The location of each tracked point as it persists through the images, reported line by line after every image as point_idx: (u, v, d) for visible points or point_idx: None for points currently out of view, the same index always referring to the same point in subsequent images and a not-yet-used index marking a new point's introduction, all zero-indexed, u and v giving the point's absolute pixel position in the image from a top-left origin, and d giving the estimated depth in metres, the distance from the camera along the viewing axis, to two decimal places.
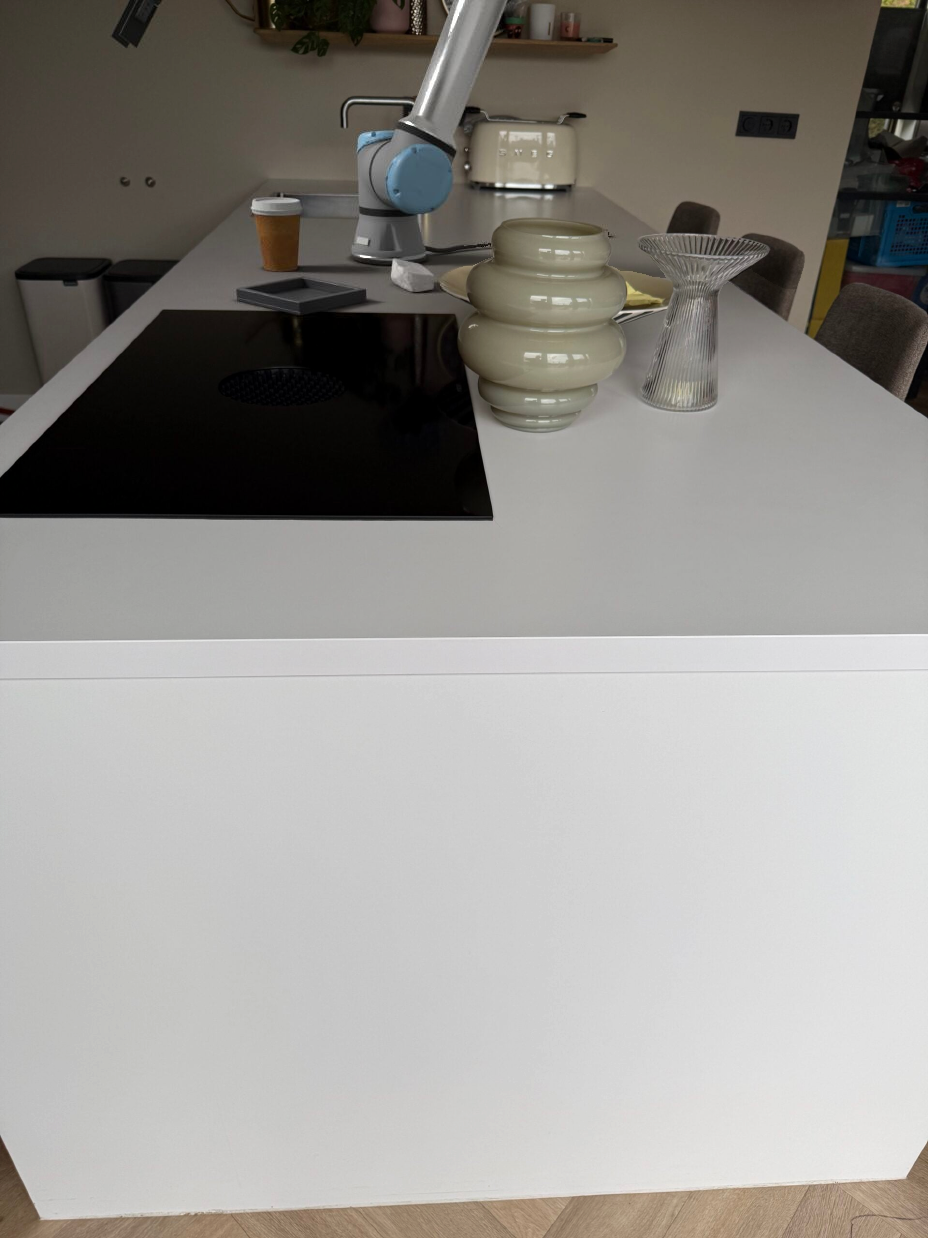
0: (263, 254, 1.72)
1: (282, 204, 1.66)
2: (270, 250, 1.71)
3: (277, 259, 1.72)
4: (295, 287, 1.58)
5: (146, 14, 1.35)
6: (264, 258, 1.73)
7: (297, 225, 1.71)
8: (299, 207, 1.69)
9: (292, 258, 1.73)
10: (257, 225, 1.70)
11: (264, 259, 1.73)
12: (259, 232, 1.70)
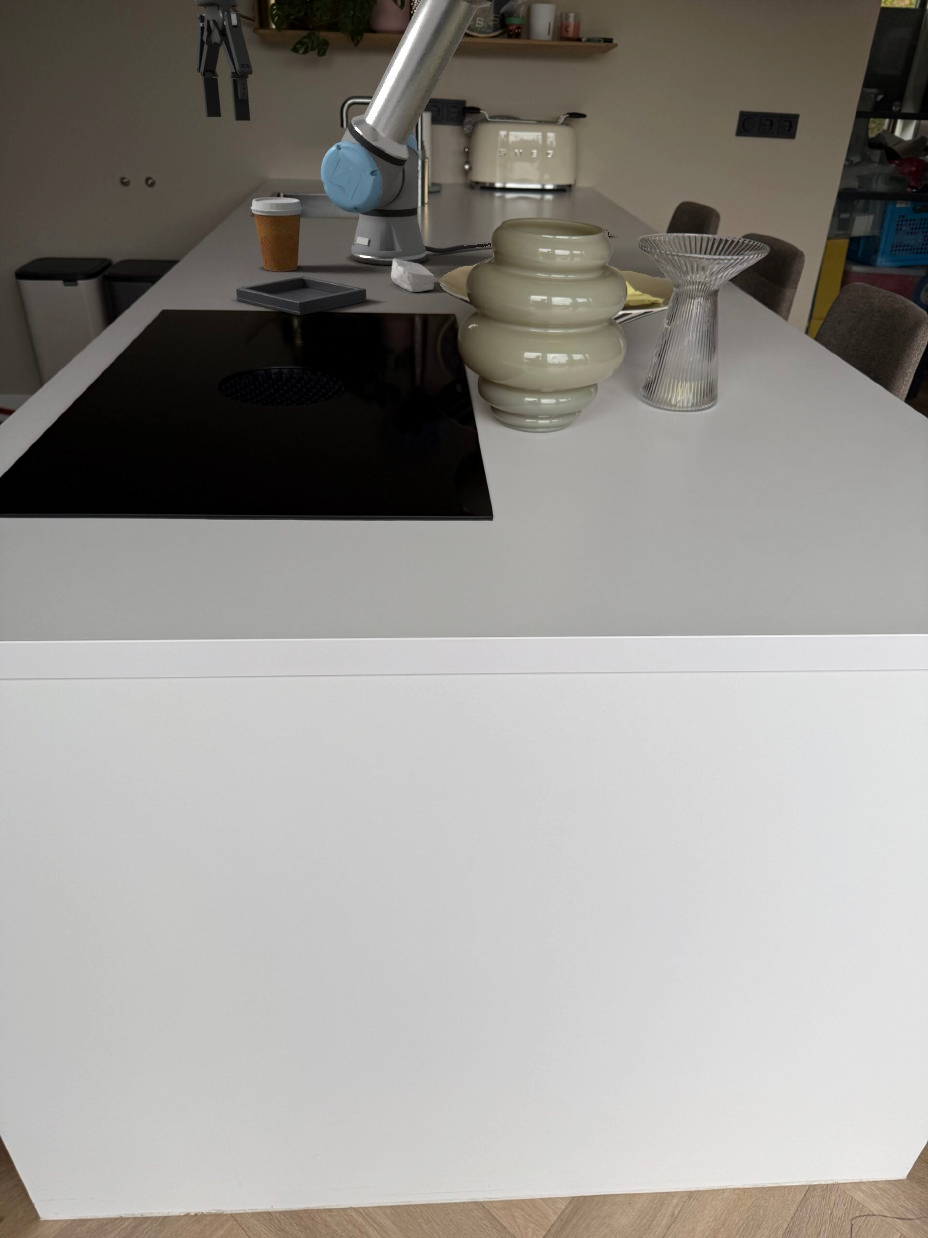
0: (263, 254, 1.72)
1: (282, 204, 1.66)
2: (270, 250, 1.71)
3: (277, 259, 1.72)
4: (295, 287, 1.58)
5: (245, 91, 1.62)
6: (264, 258, 1.73)
7: (297, 225, 1.71)
8: (299, 207, 1.69)
9: (292, 258, 1.73)
10: (257, 225, 1.70)
11: (264, 259, 1.73)
12: (259, 232, 1.70)
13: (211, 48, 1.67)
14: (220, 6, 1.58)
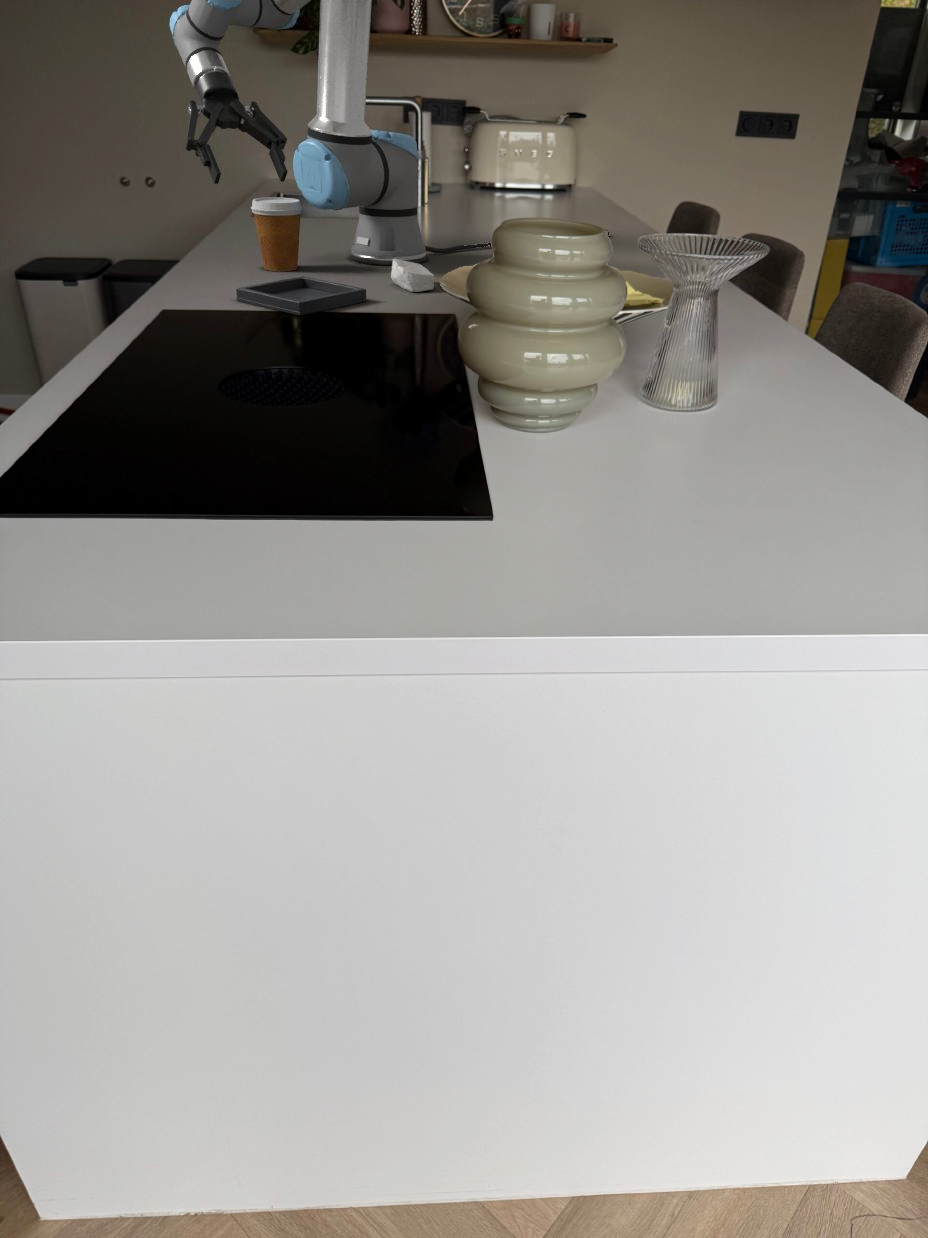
0: (263, 254, 1.72)
1: (282, 204, 1.66)
2: (270, 250, 1.71)
3: (277, 259, 1.72)
4: (295, 287, 1.58)
5: (201, 156, 1.71)
6: (264, 258, 1.73)
7: (297, 225, 1.71)
8: (299, 207, 1.69)
9: (292, 258, 1.73)
10: (257, 225, 1.70)
11: (264, 259, 1.73)
12: (259, 232, 1.70)
13: (248, 130, 1.79)
14: (201, 105, 1.77)
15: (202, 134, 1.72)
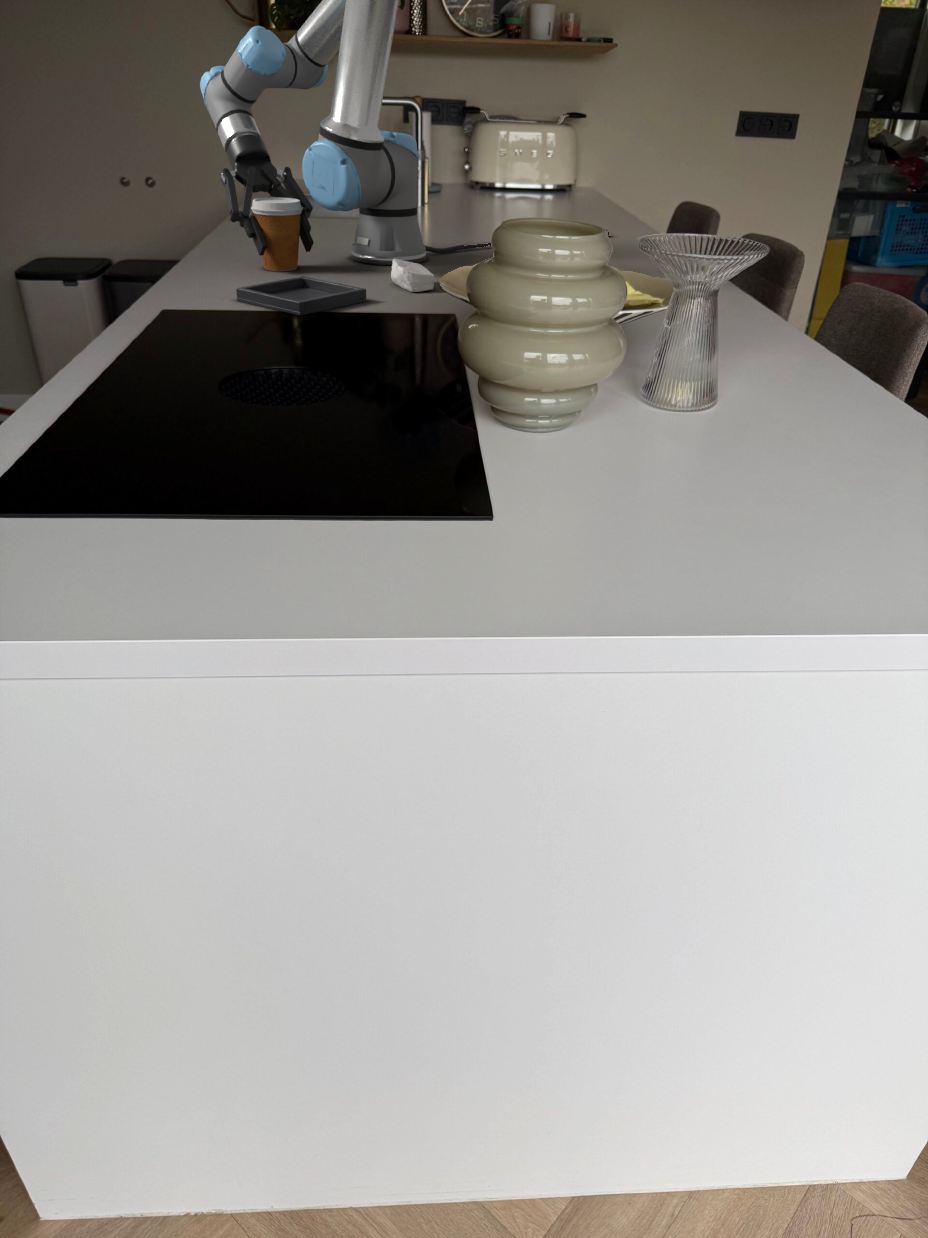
0: None
1: (282, 204, 1.66)
2: (270, 250, 1.71)
3: (276, 259, 1.72)
4: (295, 287, 1.58)
5: (247, 228, 1.68)
6: (264, 258, 1.73)
7: (297, 225, 1.71)
8: (299, 207, 1.69)
9: (292, 258, 1.73)
10: None
11: (264, 259, 1.73)
12: None
13: (276, 195, 1.75)
14: (233, 168, 1.73)
15: (245, 205, 1.69)
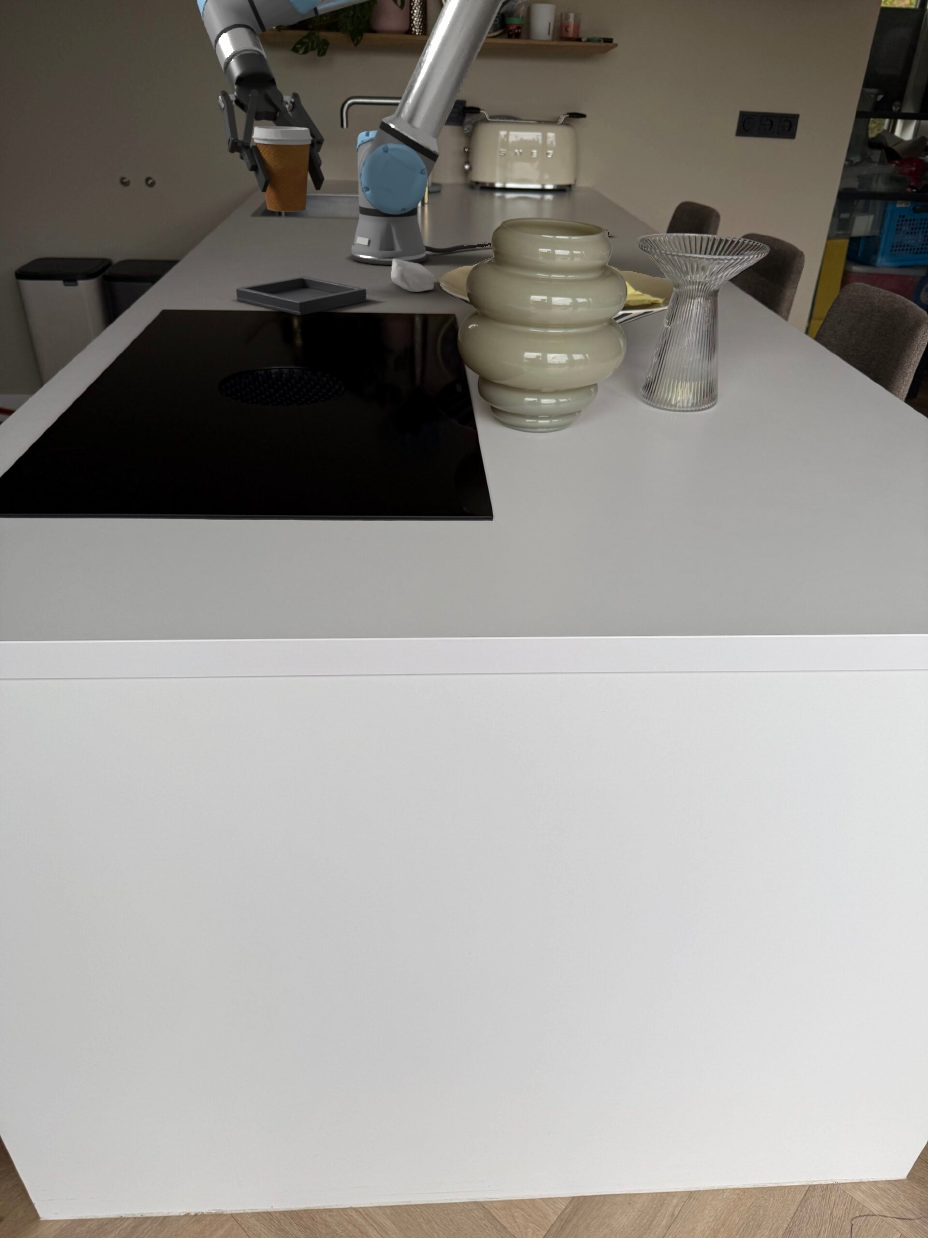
0: (266, 191, 1.49)
1: (288, 131, 1.43)
2: (274, 186, 1.48)
3: (281, 197, 1.49)
4: (295, 287, 1.58)
5: (247, 160, 1.45)
6: (267, 196, 1.50)
7: (306, 157, 1.47)
8: (308, 136, 1.46)
9: (300, 197, 1.50)
10: None
11: (267, 197, 1.50)
12: None
13: (282, 124, 1.51)
14: (232, 92, 1.50)
15: (245, 133, 1.46)
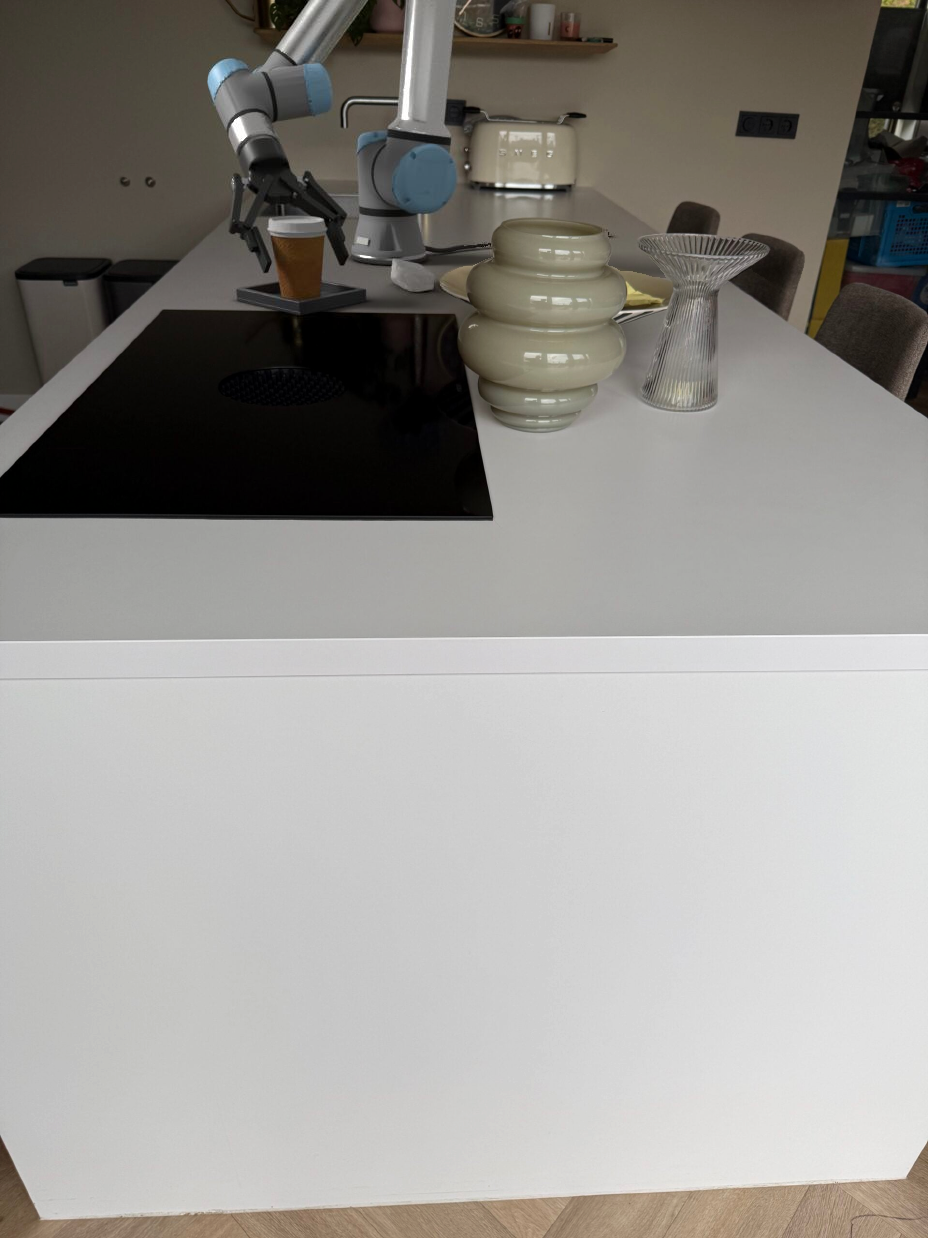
0: (281, 282, 1.48)
1: (304, 224, 1.42)
2: (289, 277, 1.47)
3: (297, 288, 1.47)
4: None
5: (248, 241, 1.43)
6: (282, 286, 1.48)
7: (321, 248, 1.46)
8: (323, 228, 1.45)
9: (315, 287, 1.49)
10: (274, 248, 1.45)
11: (282, 288, 1.49)
12: (276, 257, 1.46)
13: (301, 205, 1.51)
14: (246, 177, 1.48)
15: (249, 214, 1.44)
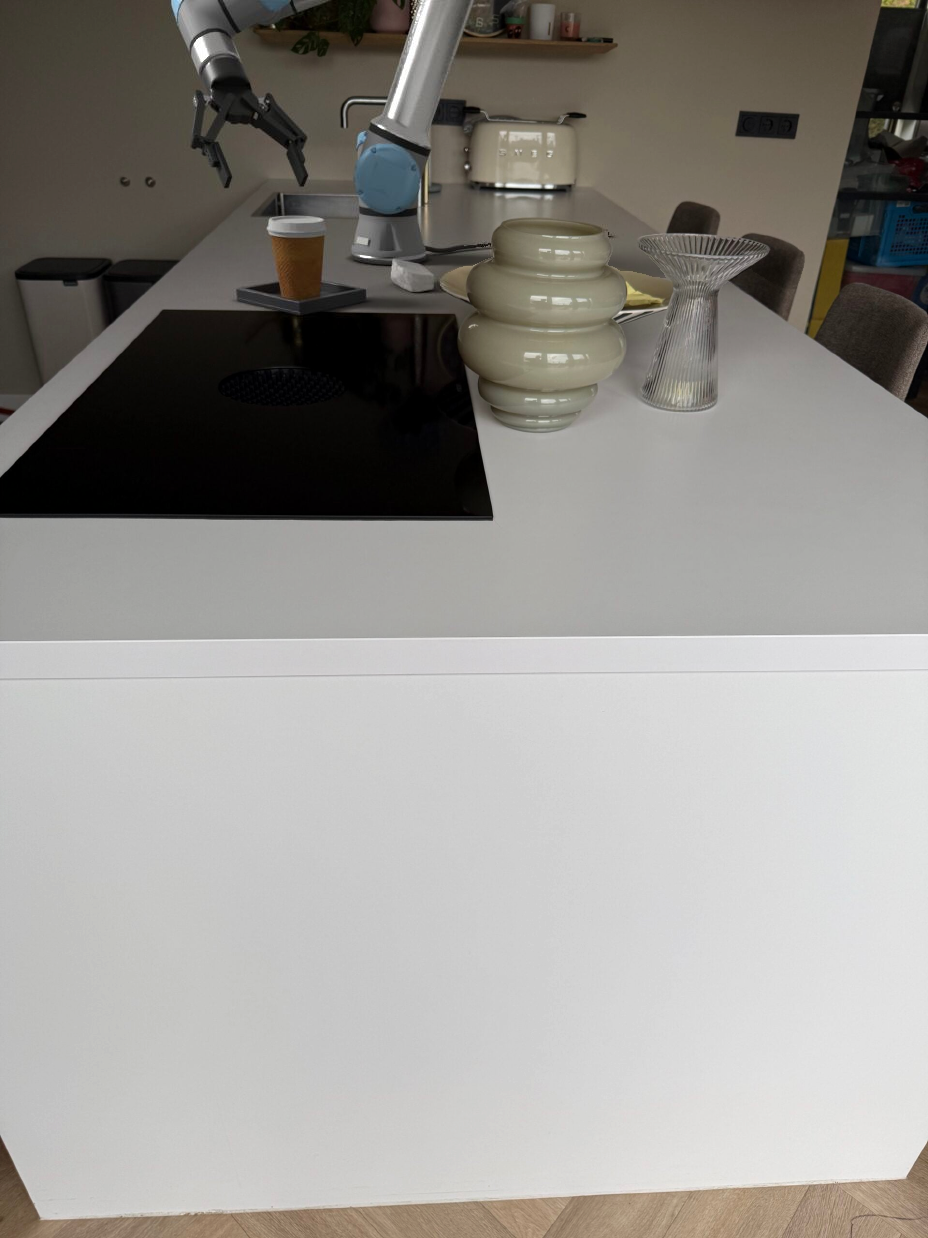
0: (281, 282, 1.48)
1: (304, 224, 1.42)
2: (289, 277, 1.47)
3: (297, 288, 1.47)
4: None
5: (209, 156, 1.46)
6: (282, 286, 1.48)
7: (321, 248, 1.46)
8: (323, 227, 1.45)
9: (315, 286, 1.49)
10: (274, 248, 1.45)
11: (282, 288, 1.49)
12: (276, 257, 1.46)
13: (262, 126, 1.54)
14: (208, 96, 1.51)
15: (210, 130, 1.47)
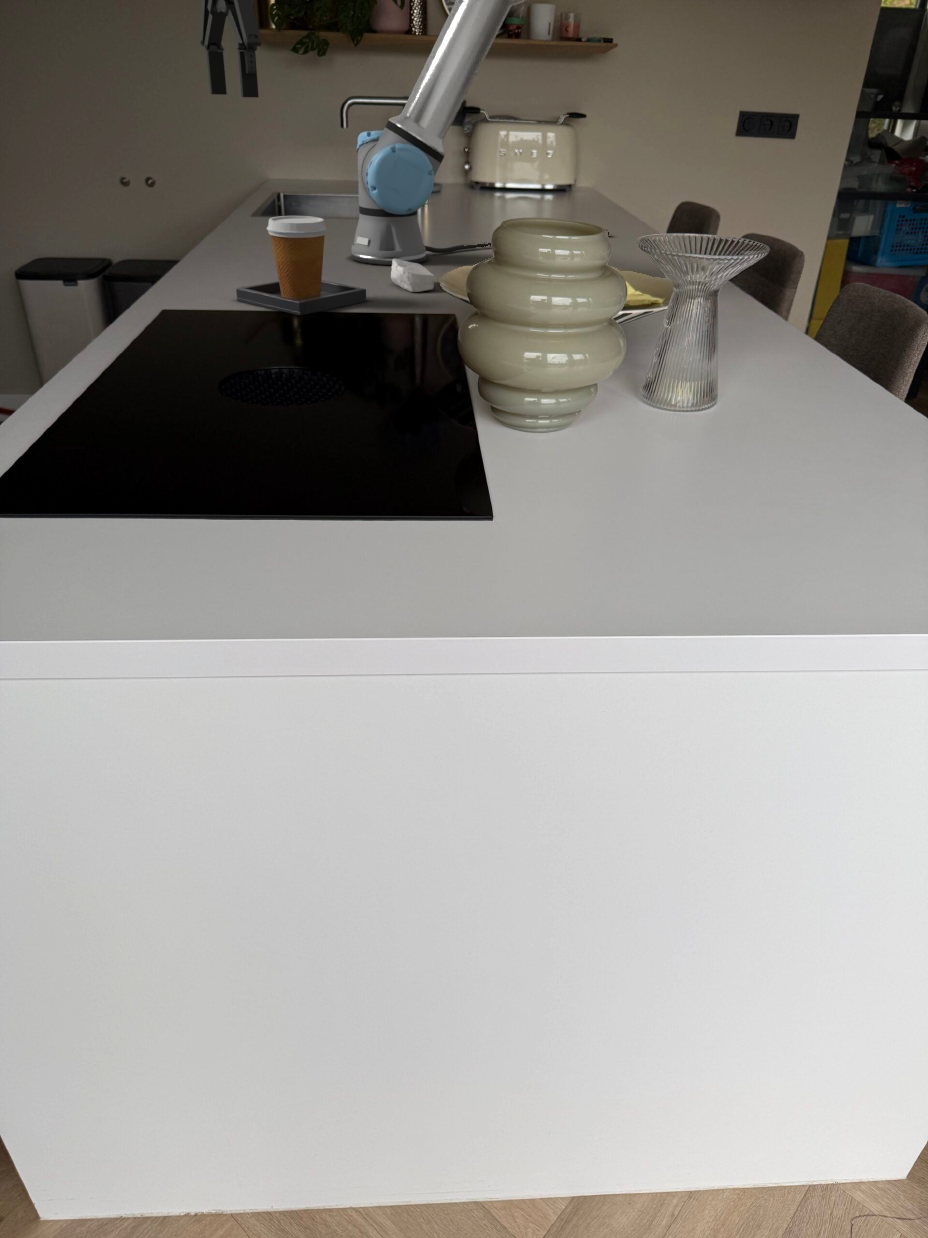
0: (281, 282, 1.48)
1: (304, 224, 1.42)
2: (289, 277, 1.47)
3: (297, 288, 1.47)
4: None
5: (253, 65, 1.49)
6: (282, 286, 1.48)
7: (321, 248, 1.46)
8: (323, 227, 1.45)
9: (315, 286, 1.49)
10: (274, 248, 1.45)
11: (282, 288, 1.49)
12: (276, 257, 1.46)
13: (216, 18, 1.53)
14: None
15: None
